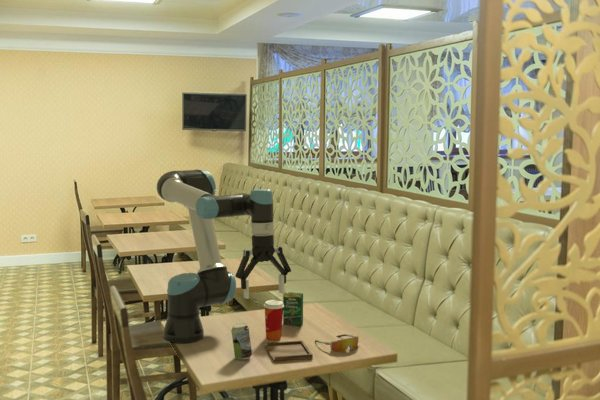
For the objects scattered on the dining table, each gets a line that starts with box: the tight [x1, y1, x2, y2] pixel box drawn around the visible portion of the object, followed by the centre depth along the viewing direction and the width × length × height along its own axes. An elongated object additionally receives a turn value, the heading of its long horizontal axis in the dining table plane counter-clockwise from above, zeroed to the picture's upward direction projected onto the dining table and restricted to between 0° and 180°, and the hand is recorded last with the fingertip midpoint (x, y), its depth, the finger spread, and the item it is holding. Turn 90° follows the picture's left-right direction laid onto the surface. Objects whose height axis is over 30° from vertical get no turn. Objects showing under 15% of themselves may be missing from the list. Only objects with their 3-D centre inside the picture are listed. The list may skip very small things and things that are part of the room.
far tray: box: [264, 339, 313, 363], centre depth 233 cm, size 14×14×2 cm
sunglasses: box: [314, 333, 359, 353], centre depth 243 cm, size 14×15×5 cm
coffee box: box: [282, 291, 304, 327], centre depth 263 cm, size 8×3×13 cm, turn 70°
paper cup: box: [263, 299, 284, 342], centre depth 247 cm, size 8×8×14 cm
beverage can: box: [231, 322, 253, 360], centre depth 227 cm, size 6×7×12 cm
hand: (264, 295), depth 225 cm, fingers open, 13 cm apart
